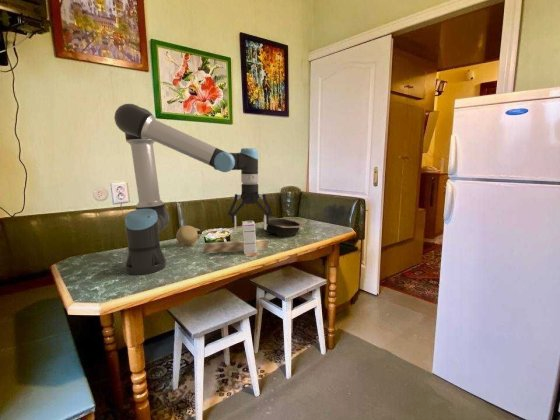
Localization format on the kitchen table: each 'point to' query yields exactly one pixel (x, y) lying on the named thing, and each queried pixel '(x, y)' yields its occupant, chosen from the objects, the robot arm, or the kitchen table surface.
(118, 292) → the kitchen table surface
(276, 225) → the stone bowl
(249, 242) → the syrup box
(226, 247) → the maple fence
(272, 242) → the kitchen table surface
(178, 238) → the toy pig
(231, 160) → the robot arm
